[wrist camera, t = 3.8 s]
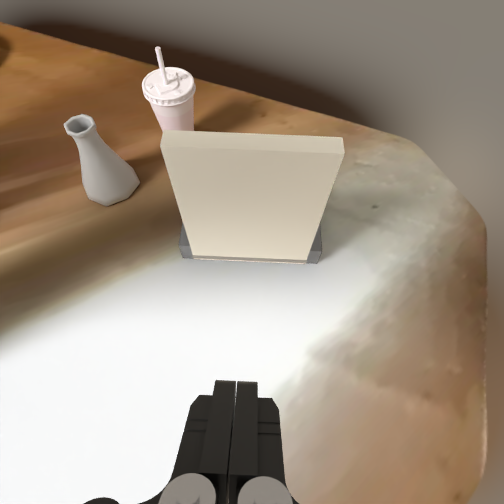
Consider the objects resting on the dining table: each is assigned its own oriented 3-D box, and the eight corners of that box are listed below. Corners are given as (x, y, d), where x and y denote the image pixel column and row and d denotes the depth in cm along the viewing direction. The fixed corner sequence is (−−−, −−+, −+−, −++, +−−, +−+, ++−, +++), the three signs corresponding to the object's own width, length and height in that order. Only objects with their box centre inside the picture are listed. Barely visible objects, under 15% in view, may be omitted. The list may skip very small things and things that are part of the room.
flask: (105, 215, 42) (68, 158, 33) (74, 185, 44) (31, 124, 35) (150, 184, 44) (126, 123, 36) (118, 157, 47) (88, 93, 38)
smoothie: (152, 154, 47) (119, 56, 35) (169, 124, 50) (145, 25, 38) (194, 163, 46) (175, 67, 34) (209, 133, 49) (197, 34, 37)
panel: (193, 259, 35) (159, 146, 21) (195, 246, 36) (163, 129, 22) (305, 264, 35) (345, 154, 21) (304, 251, 36) (343, 136, 22)
